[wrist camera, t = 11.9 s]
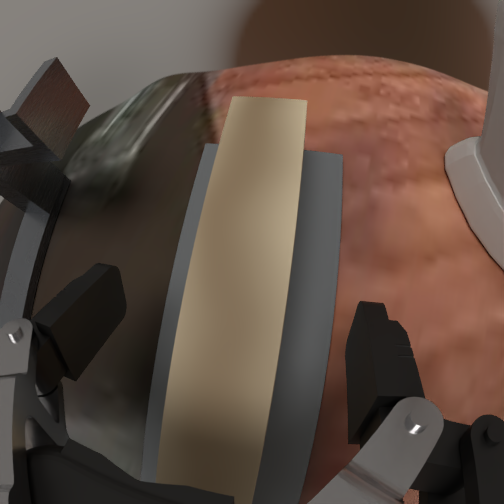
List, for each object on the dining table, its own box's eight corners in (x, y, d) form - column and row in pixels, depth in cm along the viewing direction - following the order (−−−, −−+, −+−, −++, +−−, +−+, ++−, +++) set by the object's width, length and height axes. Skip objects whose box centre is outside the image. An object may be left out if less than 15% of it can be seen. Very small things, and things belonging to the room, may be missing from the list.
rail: (303, 150, 16) (307, 100, 13) (242, 543, 10) (230, 586, 6) (242, 145, 17) (232, 96, 13) (177, 528, 10) (150, 565, 6)
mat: (341, 160, 17) (342, 154, 16) (277, 563, 9) (277, 568, 9) (207, 149, 18) (205, 143, 17) (141, 532, 11) (138, 536, 10)
